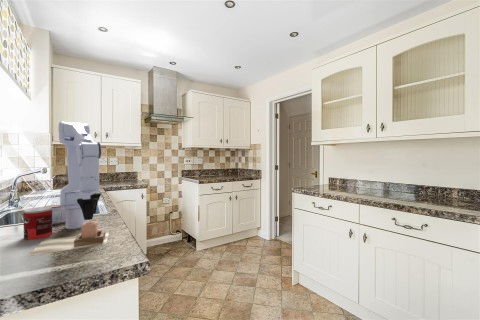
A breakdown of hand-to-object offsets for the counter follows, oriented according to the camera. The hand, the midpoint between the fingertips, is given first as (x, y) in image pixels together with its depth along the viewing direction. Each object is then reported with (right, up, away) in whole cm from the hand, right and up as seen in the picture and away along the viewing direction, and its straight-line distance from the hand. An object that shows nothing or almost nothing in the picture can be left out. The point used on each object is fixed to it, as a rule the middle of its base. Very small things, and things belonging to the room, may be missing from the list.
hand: (90, 216), depth 78 cm
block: (0, -8, 0) cm, 8 cm away
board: (-5, -9, -1) cm, 11 cm away
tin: (-31, -9, +23) cm, 40 cm away
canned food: (-22, -10, +5) cm, 25 cm away
